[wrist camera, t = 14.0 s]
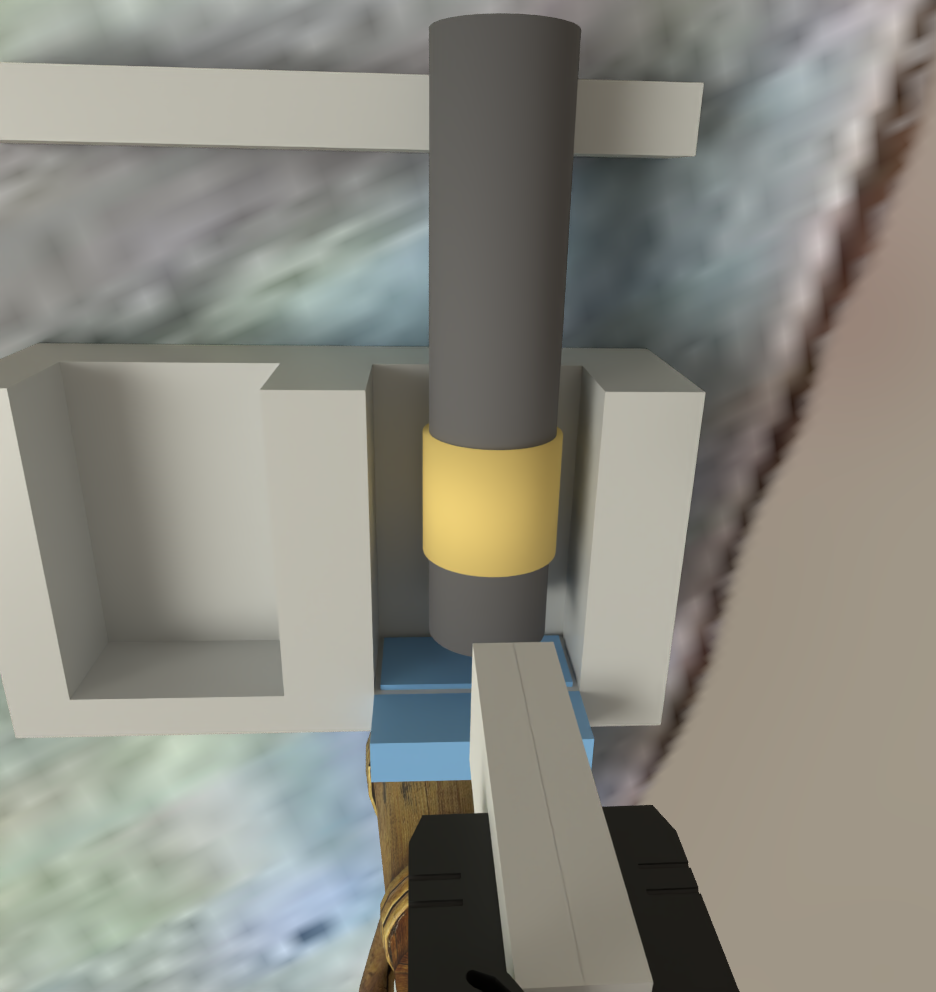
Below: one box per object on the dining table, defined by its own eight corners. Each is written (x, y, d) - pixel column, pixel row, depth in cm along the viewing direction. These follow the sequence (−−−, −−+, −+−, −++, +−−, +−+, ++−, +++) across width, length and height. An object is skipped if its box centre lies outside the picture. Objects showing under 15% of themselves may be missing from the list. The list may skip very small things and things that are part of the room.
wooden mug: (259, 814, 37) (124, 1348, 20) (465, 630, 33) (510, 1078, 17) (400, 907, 39) (386, 1447, 23) (603, 744, 36) (759, 1229, 19)
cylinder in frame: (-12, 73, 25) (-230, 20, 17) (673, 92, 26) (792, 52, 18) (90, 634, 32) (-24, 791, 24) (617, 627, 34) (682, 775, 25)
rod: (409, 39, 22) (440, 5, 18) (555, 49, 23) (615, 19, 19) (413, 602, 29) (436, 668, 25) (528, 591, 30) (568, 653, 26)
